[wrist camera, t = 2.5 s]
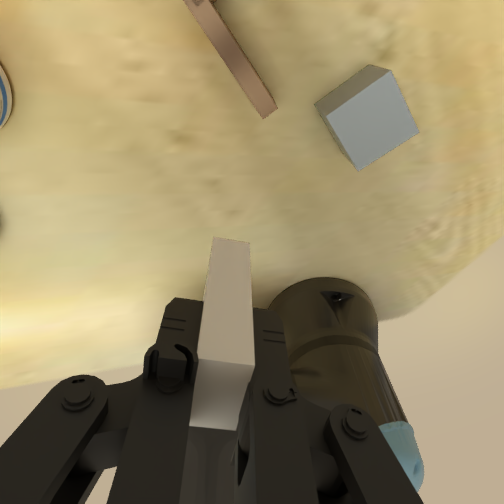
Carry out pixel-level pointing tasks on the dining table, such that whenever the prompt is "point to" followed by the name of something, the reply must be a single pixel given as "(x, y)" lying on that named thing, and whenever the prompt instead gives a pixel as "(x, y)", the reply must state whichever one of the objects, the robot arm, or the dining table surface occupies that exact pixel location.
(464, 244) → the dining table surface
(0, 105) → the supplement tub
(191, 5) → the corner fence
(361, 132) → the grey block
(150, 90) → the dining table surface
